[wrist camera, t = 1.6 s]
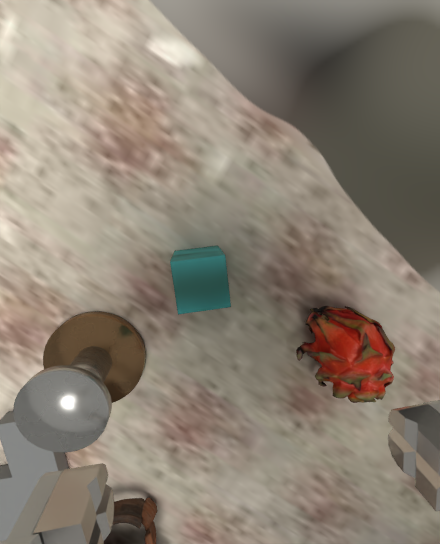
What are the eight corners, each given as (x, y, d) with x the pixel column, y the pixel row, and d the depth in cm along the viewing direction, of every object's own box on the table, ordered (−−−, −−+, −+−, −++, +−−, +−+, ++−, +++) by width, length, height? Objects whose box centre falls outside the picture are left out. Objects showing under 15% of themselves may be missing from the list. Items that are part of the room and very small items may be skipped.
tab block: (222, 286, 32) (230, 306, 25) (180, 292, 32) (178, 314, 25) (217, 245, 31) (225, 254, 24) (174, 251, 31) (170, 262, 24)
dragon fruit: (346, 375, 38) (292, 299, 37) (418, 358, 32) (357, 269, 32) (335, 431, 31) (269, 339, 30) (424, 421, 26) (347, 310, 25)
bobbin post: (152, 389, 34) (137, 456, 24) (61, 403, 33) (11, 478, 24) (137, 305, 32) (115, 344, 22) (40, 318, 31) (-25, 364, 22)
